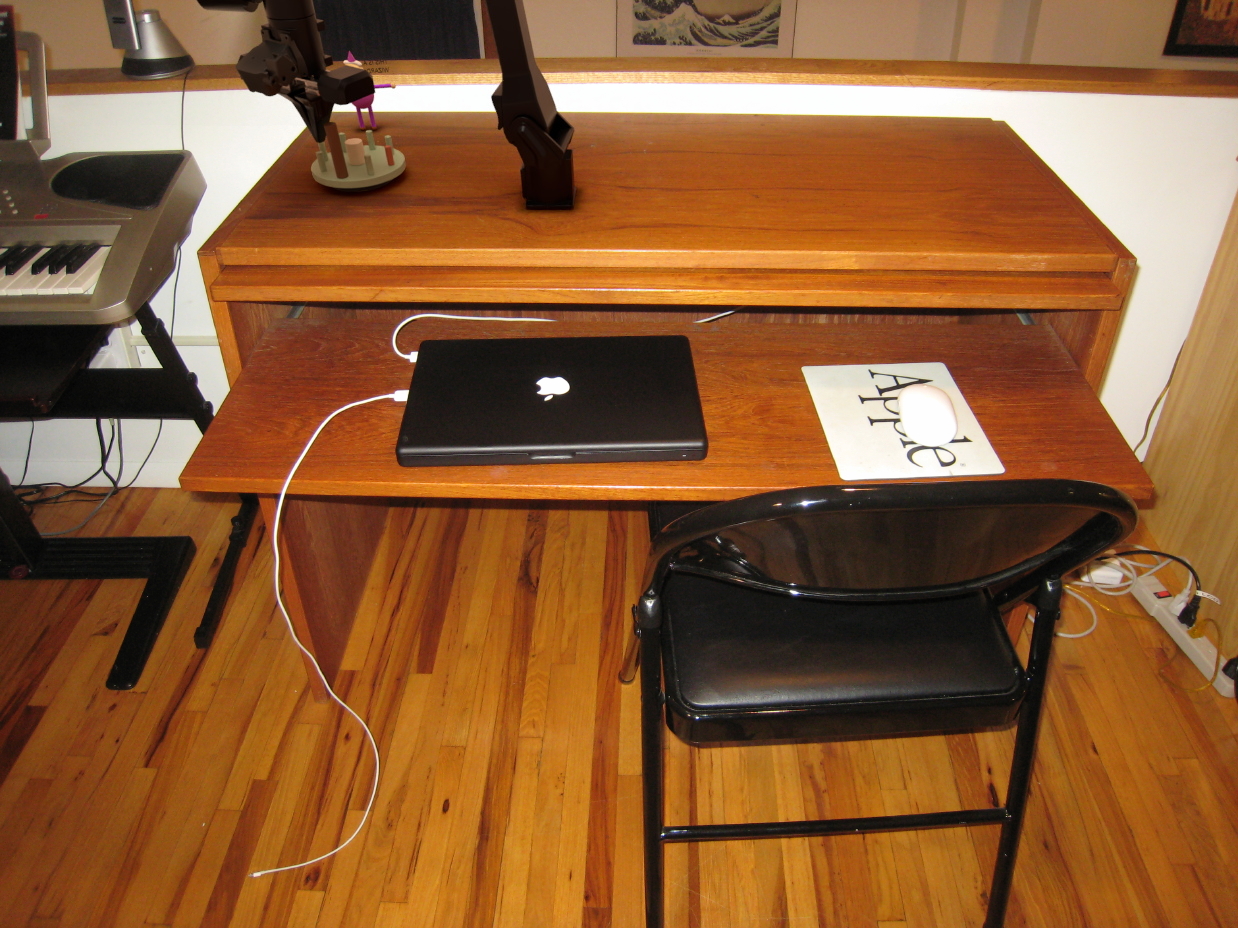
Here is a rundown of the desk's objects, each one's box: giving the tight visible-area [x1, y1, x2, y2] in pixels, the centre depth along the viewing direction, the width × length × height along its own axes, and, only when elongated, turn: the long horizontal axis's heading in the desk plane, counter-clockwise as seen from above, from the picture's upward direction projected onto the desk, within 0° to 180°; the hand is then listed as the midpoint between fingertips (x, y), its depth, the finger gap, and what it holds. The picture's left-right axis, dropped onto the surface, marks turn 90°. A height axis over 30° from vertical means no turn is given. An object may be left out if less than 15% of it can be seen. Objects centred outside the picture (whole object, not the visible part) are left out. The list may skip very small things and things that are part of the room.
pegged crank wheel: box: [310, 121, 407, 189], centre depth 114 cm, size 13×13×8 cm
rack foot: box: [332, 179, 393, 193], centre depth 117 cm, size 9×9×1 cm
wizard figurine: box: [343, 50, 397, 131], centre depth 128 cm, size 11×3×12 cm, turn 99°
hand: (320, 142), depth 110 cm, fingers closed
